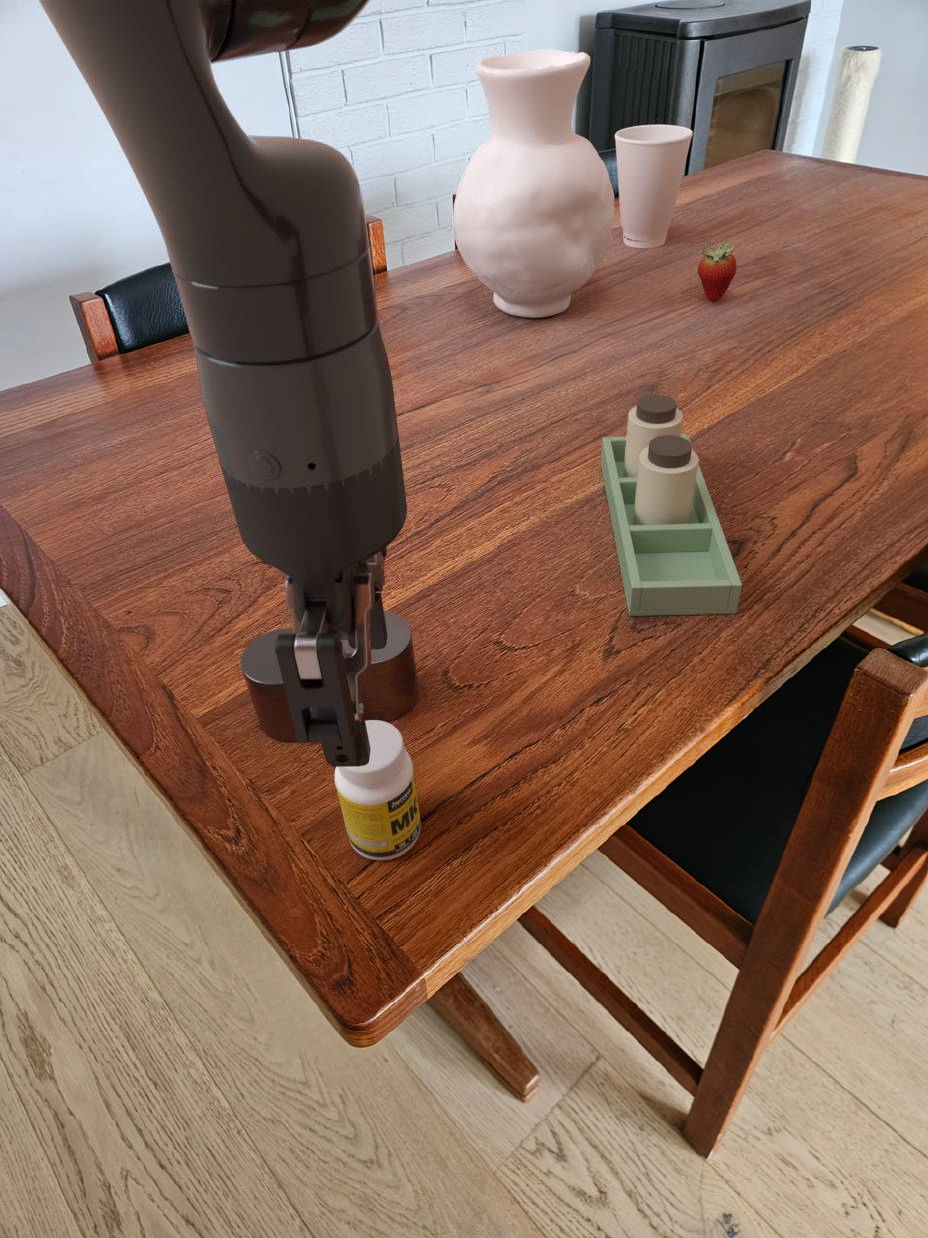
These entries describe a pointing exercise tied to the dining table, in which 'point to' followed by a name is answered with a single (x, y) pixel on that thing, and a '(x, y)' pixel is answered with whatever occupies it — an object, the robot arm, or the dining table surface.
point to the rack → (669, 550)
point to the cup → (649, 179)
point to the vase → (533, 187)
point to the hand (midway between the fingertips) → (360, 698)
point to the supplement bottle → (380, 797)
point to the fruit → (717, 271)
